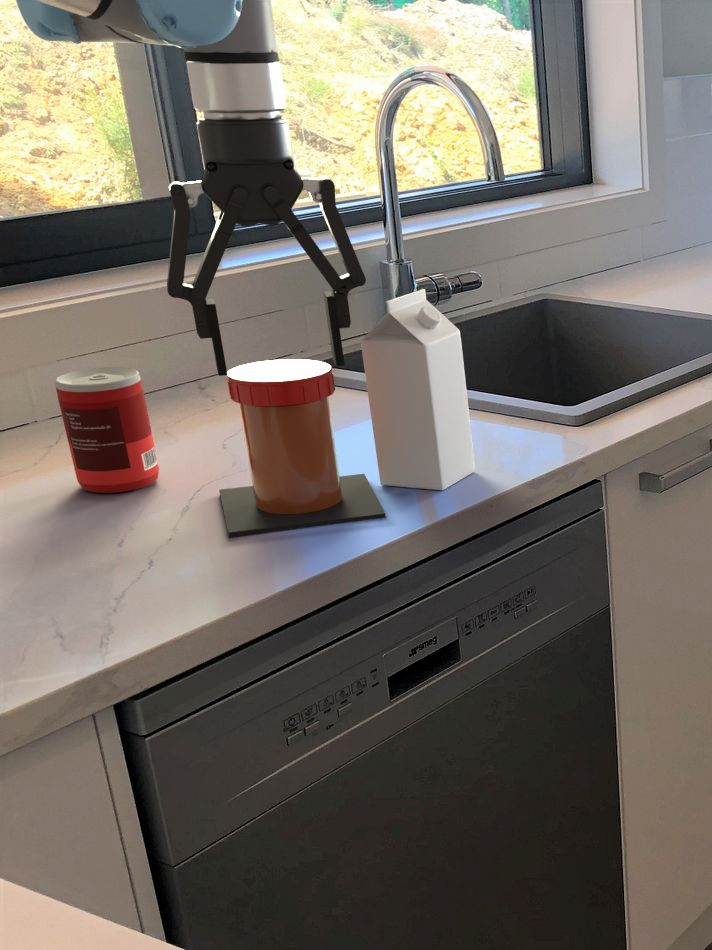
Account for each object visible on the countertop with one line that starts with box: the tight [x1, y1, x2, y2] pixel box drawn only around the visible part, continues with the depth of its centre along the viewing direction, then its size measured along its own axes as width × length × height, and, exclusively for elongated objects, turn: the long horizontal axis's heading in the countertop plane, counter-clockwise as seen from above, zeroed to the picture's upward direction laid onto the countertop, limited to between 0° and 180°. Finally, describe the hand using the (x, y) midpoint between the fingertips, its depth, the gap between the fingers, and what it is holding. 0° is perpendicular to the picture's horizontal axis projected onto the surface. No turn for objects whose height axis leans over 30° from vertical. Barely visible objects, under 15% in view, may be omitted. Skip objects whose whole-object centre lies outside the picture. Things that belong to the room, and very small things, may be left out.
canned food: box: [54, 366, 160, 494], centre depth 140 cm, size 8×8×11 cm
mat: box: [218, 473, 387, 538], centre depth 137 cm, size 14×14×1 cm
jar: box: [238, 396, 343, 514], centre depth 134 cm, size 8×8×12 cm
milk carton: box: [360, 288, 476, 491], centre depth 141 cm, size 7×7×19 cm
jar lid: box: [226, 358, 336, 406], centre depth 132 cm, size 9×9×2 cm
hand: (281, 367), depth 131 cm, fingers open, 10 cm apart
